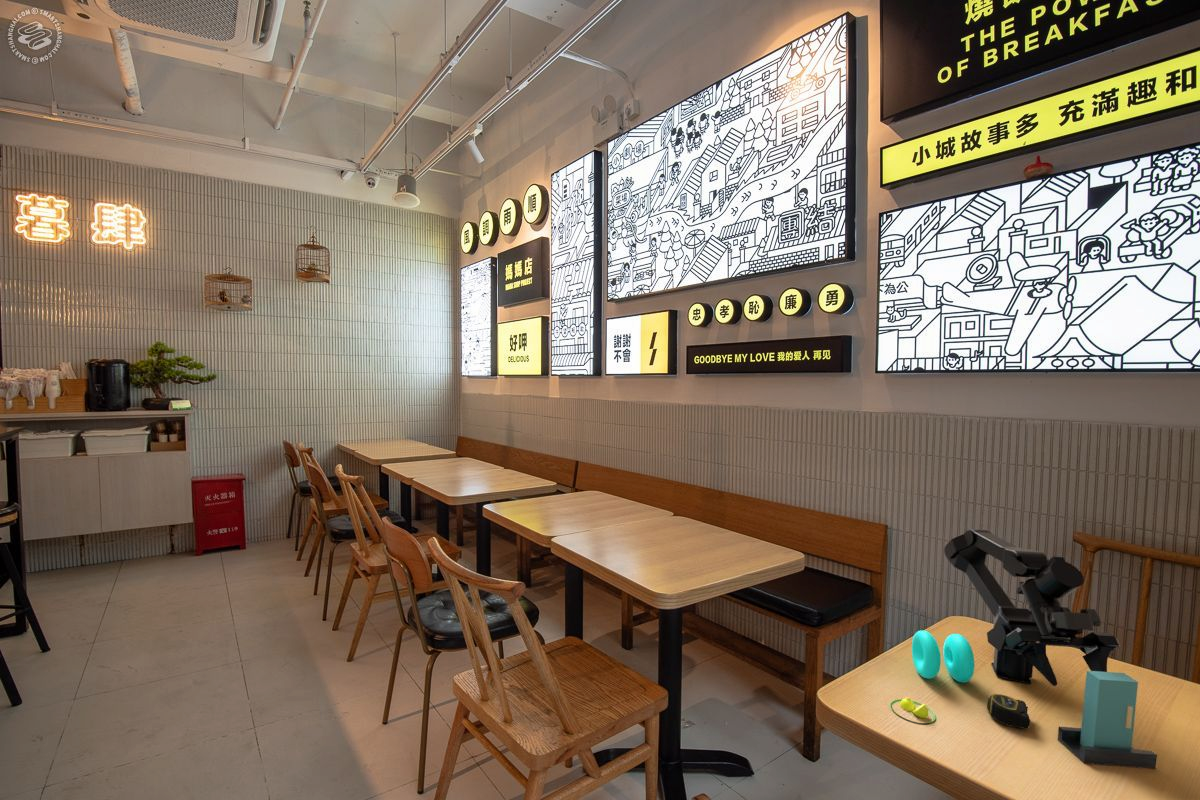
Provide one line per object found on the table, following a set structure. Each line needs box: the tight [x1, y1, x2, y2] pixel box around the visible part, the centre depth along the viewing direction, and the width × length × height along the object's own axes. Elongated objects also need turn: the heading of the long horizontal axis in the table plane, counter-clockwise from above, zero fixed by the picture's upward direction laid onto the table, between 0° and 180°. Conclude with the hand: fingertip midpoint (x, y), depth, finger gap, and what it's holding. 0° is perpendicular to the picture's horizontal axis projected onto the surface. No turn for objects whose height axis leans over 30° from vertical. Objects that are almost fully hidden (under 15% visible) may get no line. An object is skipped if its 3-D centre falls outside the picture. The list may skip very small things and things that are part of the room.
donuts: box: [911, 630, 975, 683], centre depth 130 cm, size 10×10×10 cm
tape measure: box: [986, 693, 1031, 729], centre depth 115 cm, size 7×7×4 cm
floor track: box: [1057, 726, 1158, 770], centre depth 105 cm, size 6×12×3 cm, turn 86°
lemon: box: [890, 696, 937, 724], centre depth 116 cm, size 8×8×3 cm
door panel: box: [1080, 670, 1139, 749], centre depth 105 cm, size 3×6×14 cm, turn 86°
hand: (1080, 687), depth 112 cm, fingers open, 9 cm apart
